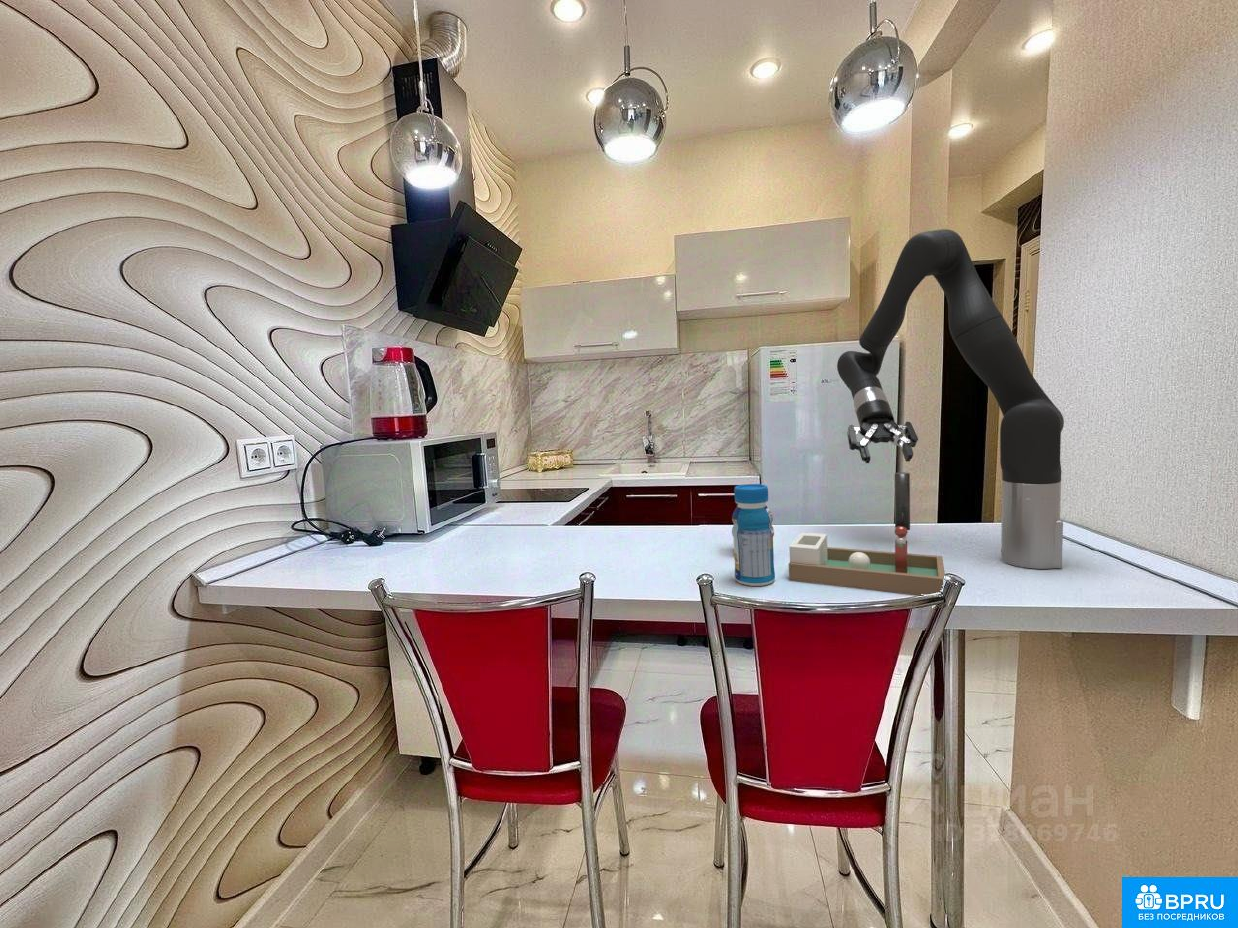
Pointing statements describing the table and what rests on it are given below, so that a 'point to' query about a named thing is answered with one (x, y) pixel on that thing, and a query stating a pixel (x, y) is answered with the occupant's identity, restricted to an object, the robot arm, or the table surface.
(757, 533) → the beverage bottle
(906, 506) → the rod
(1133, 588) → the table surface
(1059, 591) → the table surface
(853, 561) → the ball
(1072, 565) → the table surface
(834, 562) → the pitch
